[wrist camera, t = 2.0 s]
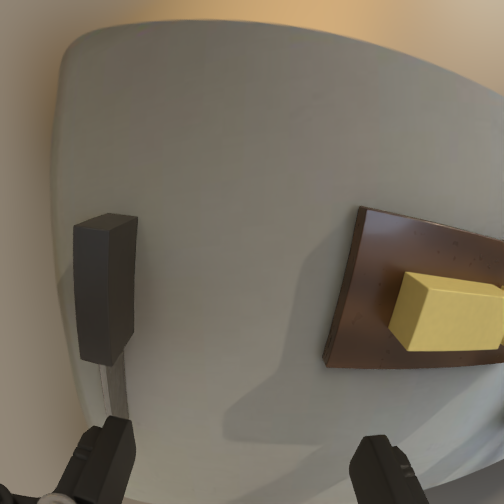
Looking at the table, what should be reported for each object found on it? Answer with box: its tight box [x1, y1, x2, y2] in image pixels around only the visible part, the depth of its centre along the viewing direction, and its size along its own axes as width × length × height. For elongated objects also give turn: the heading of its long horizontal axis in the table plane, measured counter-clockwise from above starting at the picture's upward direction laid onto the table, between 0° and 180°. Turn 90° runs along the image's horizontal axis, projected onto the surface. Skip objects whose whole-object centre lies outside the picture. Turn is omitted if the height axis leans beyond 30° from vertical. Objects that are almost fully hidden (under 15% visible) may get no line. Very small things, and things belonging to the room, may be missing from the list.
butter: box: [388, 272, 504, 351], centre depth 20 cm, size 4×10×4 cm, turn 81°
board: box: [322, 206, 504, 369], centre depth 22 cm, size 12×22×2 cm, turn 81°
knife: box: [73, 213, 138, 419], centre depth 21 cm, size 19×2×5 cm, turn 171°
